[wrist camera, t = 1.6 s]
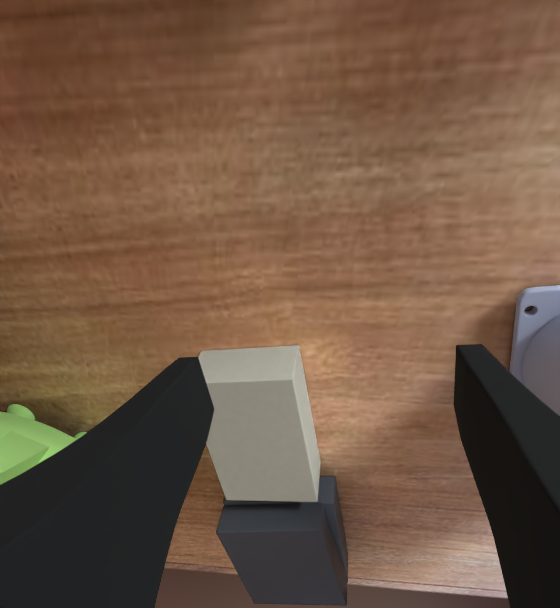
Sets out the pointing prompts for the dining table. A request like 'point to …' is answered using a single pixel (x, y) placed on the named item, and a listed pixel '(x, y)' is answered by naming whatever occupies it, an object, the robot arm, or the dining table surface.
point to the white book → (261, 424)
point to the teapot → (27, 441)
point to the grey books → (289, 548)
